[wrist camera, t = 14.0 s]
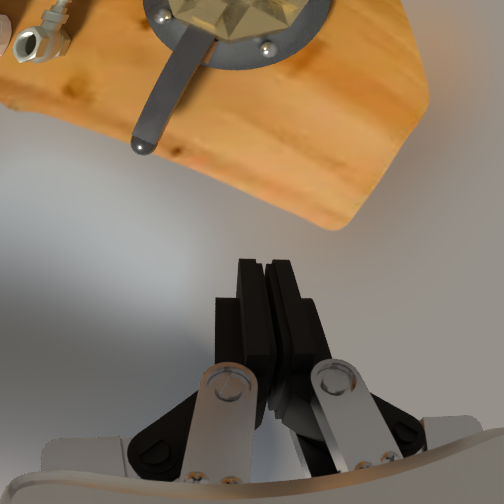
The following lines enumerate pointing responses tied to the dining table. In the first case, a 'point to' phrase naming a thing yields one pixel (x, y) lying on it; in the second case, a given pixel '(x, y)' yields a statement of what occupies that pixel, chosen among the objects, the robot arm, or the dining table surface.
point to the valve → (44, 37)
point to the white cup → (4, 33)
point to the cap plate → (244, 52)
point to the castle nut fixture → (205, 51)
